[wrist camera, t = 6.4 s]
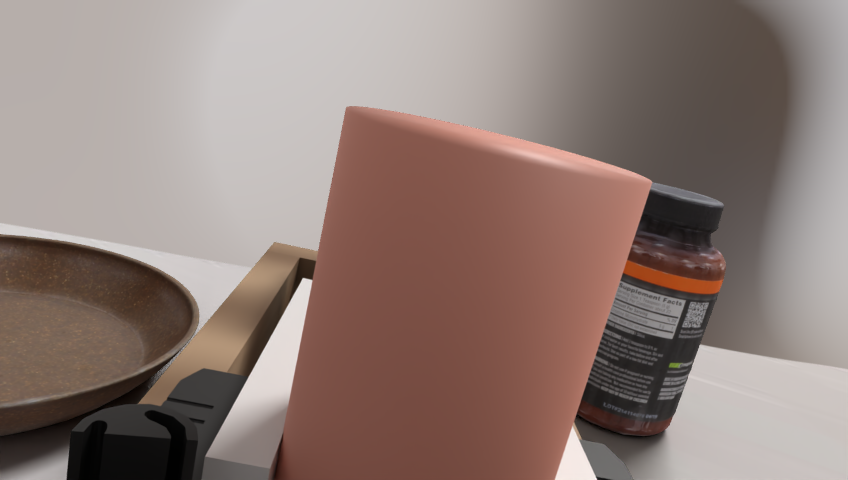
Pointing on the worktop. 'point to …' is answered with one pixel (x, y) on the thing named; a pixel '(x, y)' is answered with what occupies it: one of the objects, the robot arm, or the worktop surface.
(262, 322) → the wooden u-shaped frame
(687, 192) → the supplement bottle
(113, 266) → the saucer
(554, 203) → the block
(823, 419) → the worktop surface
